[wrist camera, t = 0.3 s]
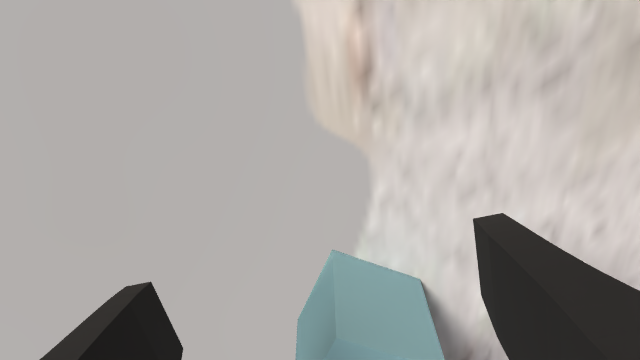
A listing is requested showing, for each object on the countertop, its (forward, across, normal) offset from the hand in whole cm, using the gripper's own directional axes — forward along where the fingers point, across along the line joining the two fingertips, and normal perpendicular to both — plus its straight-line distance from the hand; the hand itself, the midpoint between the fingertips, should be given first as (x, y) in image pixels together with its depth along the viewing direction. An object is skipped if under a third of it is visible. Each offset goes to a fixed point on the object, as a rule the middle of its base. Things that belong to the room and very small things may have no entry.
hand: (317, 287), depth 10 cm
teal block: (+10, 0, +9) cm, 13 cm away
